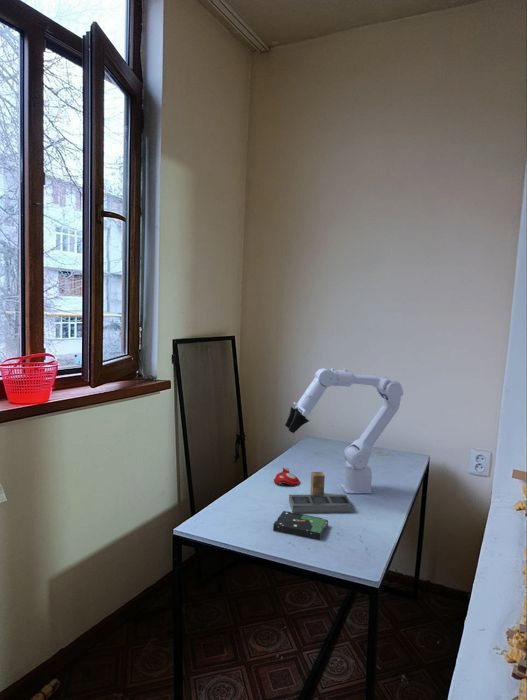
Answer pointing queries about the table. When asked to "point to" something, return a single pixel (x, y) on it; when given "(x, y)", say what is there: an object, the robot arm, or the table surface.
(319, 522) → the disk drive
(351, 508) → the rail
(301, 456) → the table surface
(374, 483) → the table surface
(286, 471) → the tracker holder
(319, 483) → the walnut peg
